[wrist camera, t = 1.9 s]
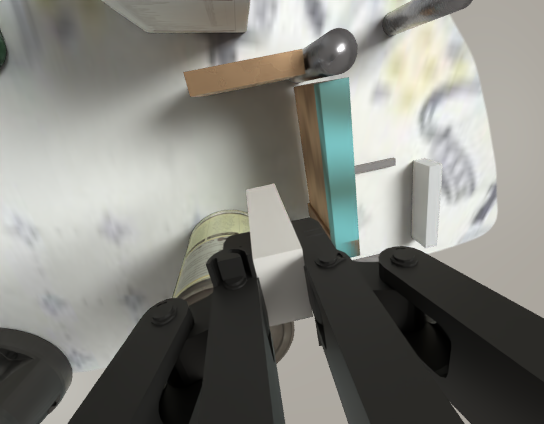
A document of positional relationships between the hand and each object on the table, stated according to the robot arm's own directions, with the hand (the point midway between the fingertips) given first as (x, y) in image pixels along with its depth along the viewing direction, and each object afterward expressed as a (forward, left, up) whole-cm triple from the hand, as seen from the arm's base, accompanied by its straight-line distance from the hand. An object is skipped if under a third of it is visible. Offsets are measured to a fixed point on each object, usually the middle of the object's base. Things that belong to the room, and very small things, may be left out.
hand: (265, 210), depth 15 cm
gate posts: (+7, +8, -17) cm, 20 cm away
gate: (+6, -2, -16) cm, 17 cm away
